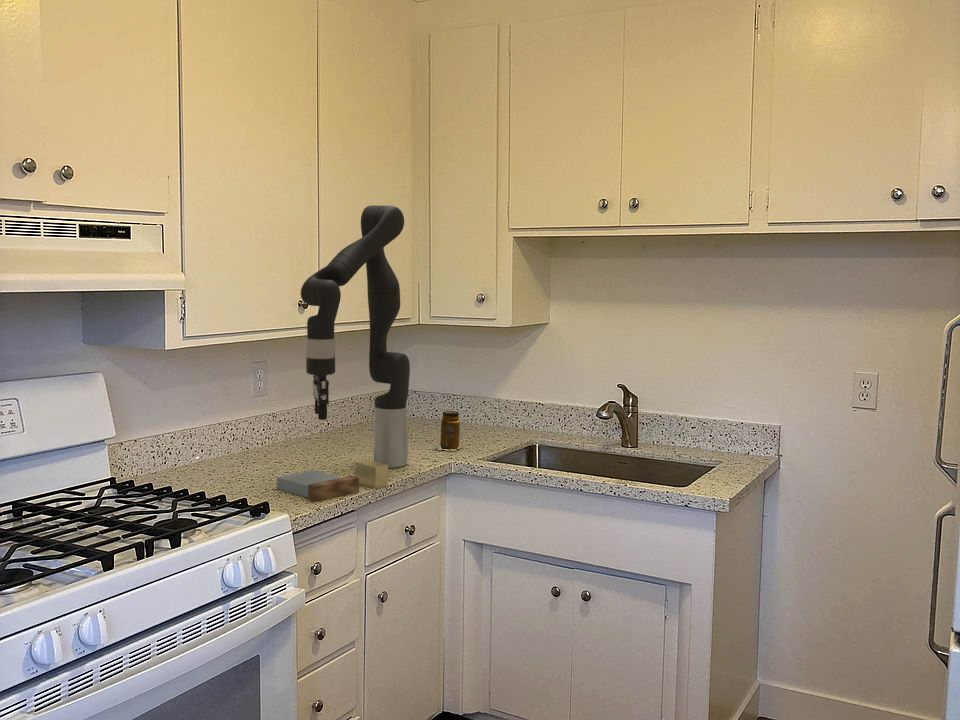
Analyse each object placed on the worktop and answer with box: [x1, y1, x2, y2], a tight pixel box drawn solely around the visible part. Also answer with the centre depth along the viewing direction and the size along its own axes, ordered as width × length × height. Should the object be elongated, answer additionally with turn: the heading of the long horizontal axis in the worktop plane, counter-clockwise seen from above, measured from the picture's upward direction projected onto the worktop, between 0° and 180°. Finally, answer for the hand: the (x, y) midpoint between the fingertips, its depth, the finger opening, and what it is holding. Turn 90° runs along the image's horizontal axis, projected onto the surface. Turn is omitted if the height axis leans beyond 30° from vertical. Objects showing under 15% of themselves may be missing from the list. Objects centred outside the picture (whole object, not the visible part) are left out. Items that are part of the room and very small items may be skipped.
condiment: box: [432, 410, 461, 451], centre depth 289 cm, size 7×8×12 cm
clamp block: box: [354, 459, 389, 489], centre depth 239 cm, size 4×8×6 cm, turn 50°
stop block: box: [307, 475, 360, 503], centre depth 226 cm, size 14×3×4 cm, turn 139°
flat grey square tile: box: [276, 469, 342, 499], centre depth 232 cm, size 12×14×3 cm
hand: (320, 416), depth 237 cm, fingers open, 8 cm apart
